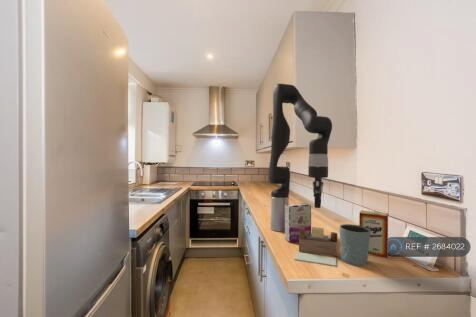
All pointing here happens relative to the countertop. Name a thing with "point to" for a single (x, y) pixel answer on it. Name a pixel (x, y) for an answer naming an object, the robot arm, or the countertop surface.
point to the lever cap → (317, 235)
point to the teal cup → (354, 244)
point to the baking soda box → (376, 231)
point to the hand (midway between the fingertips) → (317, 205)
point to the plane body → (318, 244)
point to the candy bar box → (297, 220)
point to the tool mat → (316, 259)
